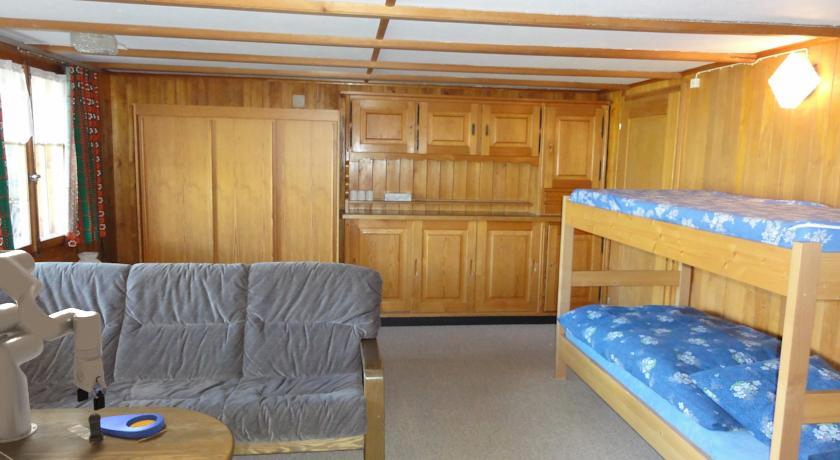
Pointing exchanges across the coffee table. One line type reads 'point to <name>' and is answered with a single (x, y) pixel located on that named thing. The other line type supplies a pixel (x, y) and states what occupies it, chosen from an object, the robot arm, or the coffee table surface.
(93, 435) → the pawn
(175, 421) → the coffee table surface
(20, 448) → the coffee table surface
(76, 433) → the board
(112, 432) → the location marker
